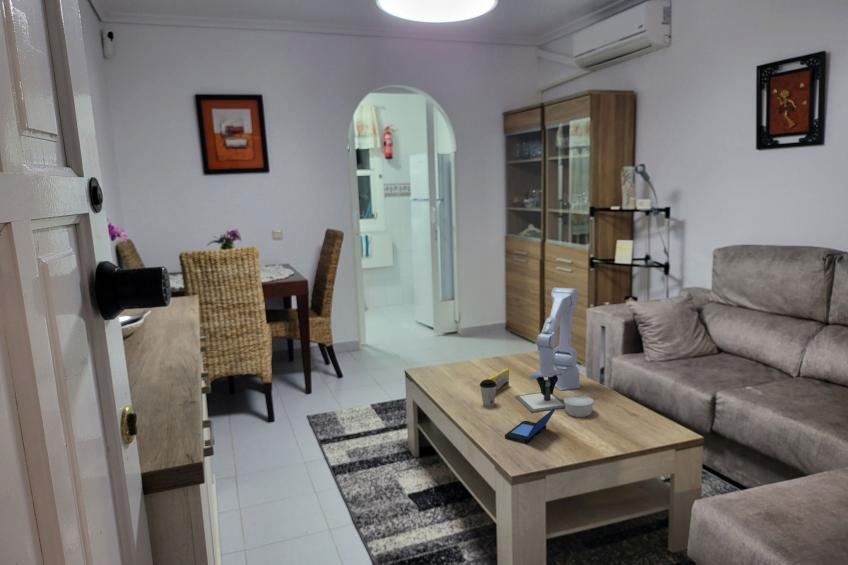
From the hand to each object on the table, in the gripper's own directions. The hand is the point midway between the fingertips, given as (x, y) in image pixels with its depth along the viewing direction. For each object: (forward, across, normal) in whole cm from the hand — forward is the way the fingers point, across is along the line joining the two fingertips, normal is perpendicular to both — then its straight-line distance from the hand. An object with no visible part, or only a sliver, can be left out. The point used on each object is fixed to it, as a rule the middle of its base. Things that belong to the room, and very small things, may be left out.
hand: (547, 393), depth 237 cm
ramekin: (+4, +6, -15) cm, 17 cm away
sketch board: (+3, -3, 0) cm, 4 cm away
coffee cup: (+3, -24, +5) cm, 24 cm away
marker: (+2, 0, 0) cm, 2 cm away
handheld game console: (+4, -19, -27) cm, 33 cm away
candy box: (+4, -15, +18) cm, 24 cm away
